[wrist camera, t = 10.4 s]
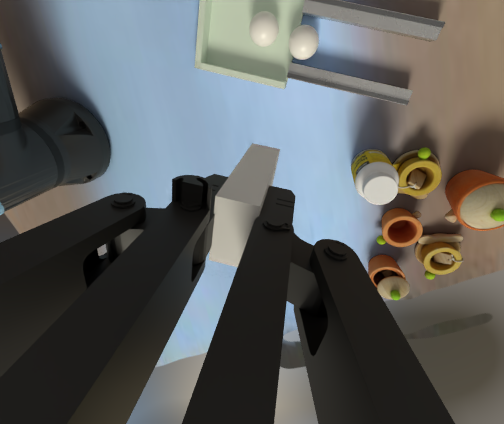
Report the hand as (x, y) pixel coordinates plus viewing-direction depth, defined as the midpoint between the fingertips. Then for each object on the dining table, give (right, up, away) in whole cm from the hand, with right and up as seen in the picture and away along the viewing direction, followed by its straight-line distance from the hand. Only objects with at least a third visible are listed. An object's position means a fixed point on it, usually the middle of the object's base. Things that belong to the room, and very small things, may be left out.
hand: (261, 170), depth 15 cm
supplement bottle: (+18, +5, +27) cm, 33 cm away
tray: (-1, +23, +22) cm, 31 cm away
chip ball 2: (+8, +20, +21) cm, 30 cm away
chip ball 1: (-1, +22, +20) cm, 30 cm away
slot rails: (+13, +19, +21) cm, 31 cm away
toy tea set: (+27, -4, +30) cm, 41 cm away
